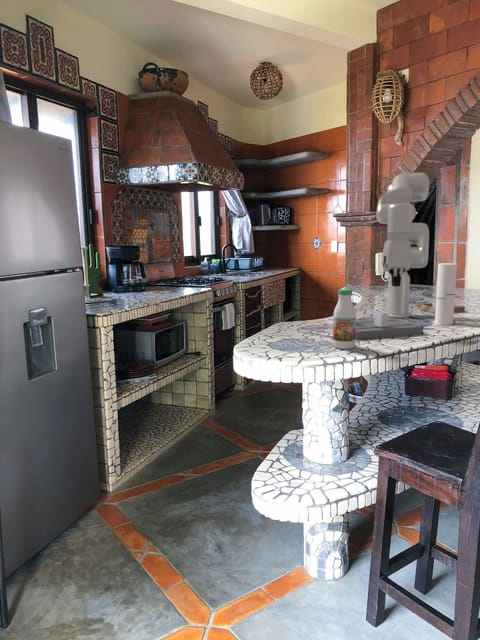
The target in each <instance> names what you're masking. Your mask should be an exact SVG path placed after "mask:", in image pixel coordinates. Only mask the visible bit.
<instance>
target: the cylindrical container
mask: <svg viewBox="0 0 480 640" xmlns="http://www.w3.org/2000/svg"><path fill="white" fill-rule="evenodd" d="M457 267H458V263H454V262H453V263H448V262H446V263H444V262H443V263H442V262H441V263H437V280H436V296H435V297H436V299H435V301H436V311H435V313H434V314H435V315H434V324H436V325H441V326H449V325H451V326H452V325H453V324H454V320H455V319H454V316H455V313H454V305H456V304H455V302H456V285H457V271H458V270H457V269H458V268H457Z"/></svg>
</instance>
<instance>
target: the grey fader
mask: <svg viewBox="0 0 480 640" xmlns="http://www.w3.org/2000/svg"><path fill="white" fill-rule="evenodd" d="M385 312H386V311H378V310H377V311H374V316H373V317H374V325H376V326H379V327H388V323H389V318H390V317H389V314H388V313H385Z"/></svg>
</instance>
